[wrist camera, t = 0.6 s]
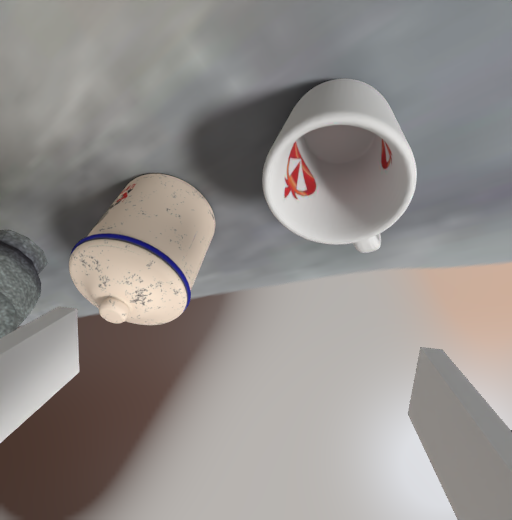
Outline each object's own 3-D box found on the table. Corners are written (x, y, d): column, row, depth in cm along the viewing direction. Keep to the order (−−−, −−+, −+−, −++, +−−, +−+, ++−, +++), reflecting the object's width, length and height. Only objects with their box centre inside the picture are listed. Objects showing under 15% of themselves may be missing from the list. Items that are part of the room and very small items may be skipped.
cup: (424, 186, 27) (442, 261, 22) (321, 216, 31) (314, 288, 25) (382, 34, 21) (393, 84, 16) (261, 94, 25) (234, 152, 19)
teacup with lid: (121, 153, 30) (34, 249, 22) (228, 190, 31) (183, 297, 22) (120, 253, 39) (57, 349, 30) (204, 280, 39) (165, 382, 31)
